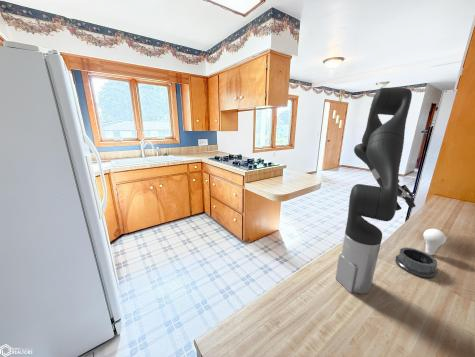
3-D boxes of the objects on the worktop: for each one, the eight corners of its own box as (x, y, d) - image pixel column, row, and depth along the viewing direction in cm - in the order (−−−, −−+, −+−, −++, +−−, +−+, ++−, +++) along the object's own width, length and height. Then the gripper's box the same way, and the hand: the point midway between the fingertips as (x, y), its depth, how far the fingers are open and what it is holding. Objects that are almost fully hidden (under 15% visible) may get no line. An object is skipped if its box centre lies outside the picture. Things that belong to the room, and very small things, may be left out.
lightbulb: (444, 260, 71) (453, 235, 68) (425, 258, 72) (433, 233, 69) (432, 250, 77) (439, 226, 74) (414, 248, 78) (421, 225, 75)
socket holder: (422, 281, 62) (425, 270, 60) (387, 259, 72) (390, 249, 70) (444, 274, 64) (448, 263, 63) (408, 254, 75) (411, 244, 73)
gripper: (379, 173, 83) (402, 207, 76) (403, 171, 87) (426, 203, 79) (366, 181, 89) (386, 213, 82) (388, 179, 93) (409, 209, 86)
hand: (406, 208), depth 81 cm, fingers open, 8 cm apart
